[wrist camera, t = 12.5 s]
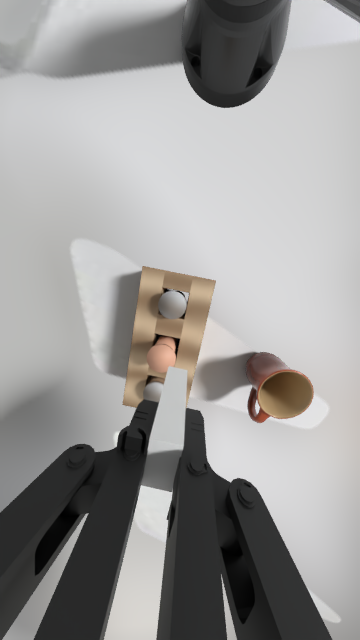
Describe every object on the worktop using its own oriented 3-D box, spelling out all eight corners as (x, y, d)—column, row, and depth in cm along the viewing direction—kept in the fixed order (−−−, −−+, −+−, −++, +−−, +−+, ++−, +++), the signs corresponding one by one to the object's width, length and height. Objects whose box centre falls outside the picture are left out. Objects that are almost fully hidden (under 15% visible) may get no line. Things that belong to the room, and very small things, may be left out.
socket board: (151, 268, 37) (142, 266, 30) (211, 280, 36) (215, 280, 30) (133, 384, 42) (122, 404, 35) (185, 395, 42) (184, 417, 35)
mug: (256, 339, 38) (279, 360, 28) (290, 359, 39) (325, 387, 29) (224, 383, 41) (235, 417, 31) (257, 402, 41) (278, 441, 31)
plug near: (167, 286, 37) (160, 288, 28) (189, 291, 37) (189, 294, 28) (163, 308, 38) (156, 316, 29) (184, 312, 38) (183, 321, 29)
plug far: (154, 359, 40) (145, 381, 32) (174, 363, 40) (170, 386, 32) (151, 377, 41) (141, 403, 33) (170, 381, 41) (165, 408, 33)
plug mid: (158, 327, 36) (149, 342, 27) (180, 332, 36) (178, 348, 27) (155, 348, 37) (144, 369, 28) (176, 353, 37) (172, 375, 28)
